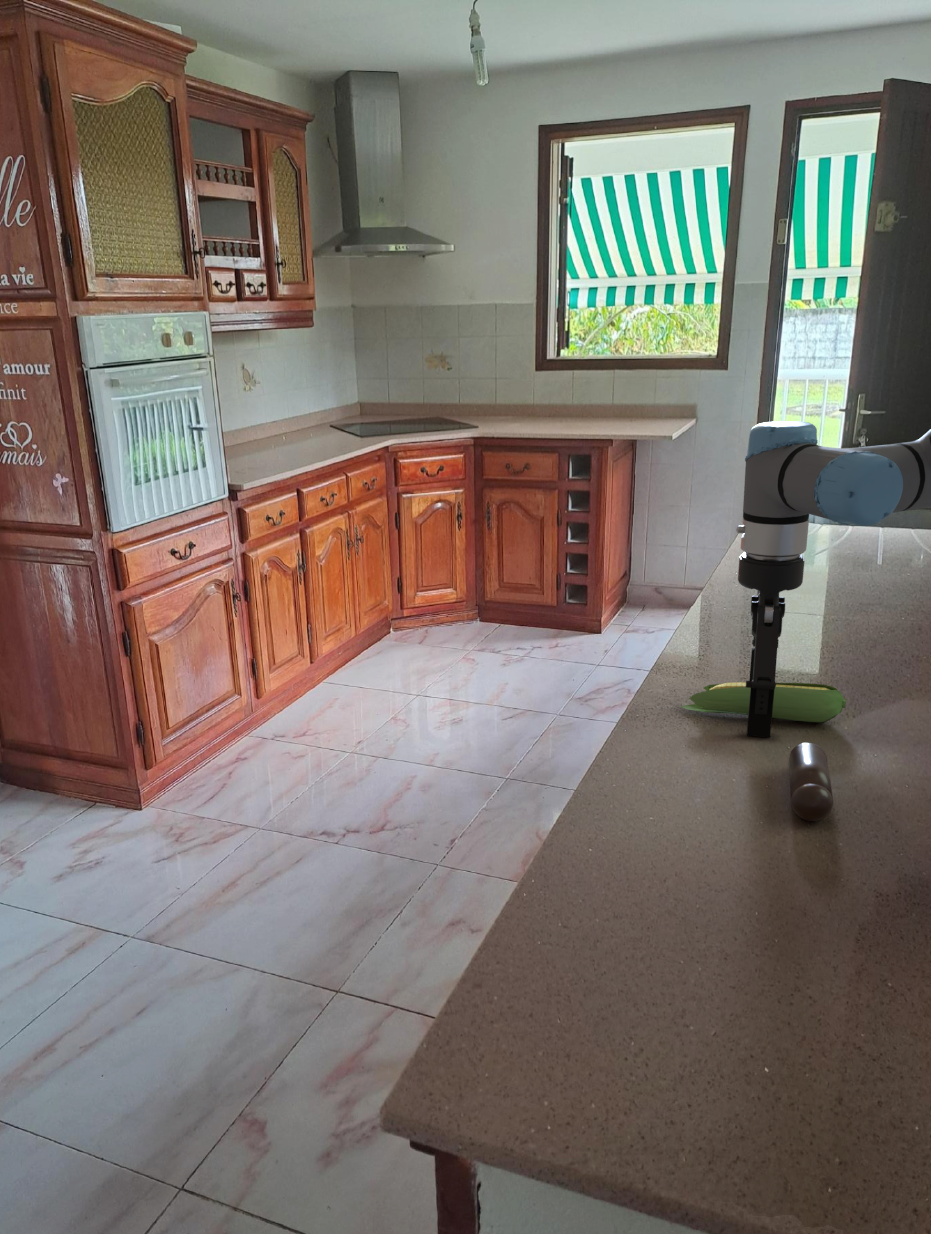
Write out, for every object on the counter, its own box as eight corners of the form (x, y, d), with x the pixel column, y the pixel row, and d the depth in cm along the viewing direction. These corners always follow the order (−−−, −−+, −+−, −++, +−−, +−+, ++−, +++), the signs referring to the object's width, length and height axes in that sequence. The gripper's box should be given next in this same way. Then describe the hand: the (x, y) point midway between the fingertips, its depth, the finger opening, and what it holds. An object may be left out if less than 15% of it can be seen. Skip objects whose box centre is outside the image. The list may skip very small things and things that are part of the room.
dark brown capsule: (786, 767, 111) (789, 735, 109) (824, 770, 110) (827, 738, 108) (790, 826, 98) (793, 790, 97) (832, 830, 97) (836, 794, 96)
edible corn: (844, 730, 120) (848, 696, 118) (677, 717, 126) (679, 684, 124) (842, 714, 124) (845, 681, 123) (681, 702, 130) (682, 671, 129)
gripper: (741, 530, 130) (730, 678, 137) (737, 578, 108) (725, 751, 115) (801, 531, 127) (787, 682, 135) (809, 581, 105) (792, 757, 113)
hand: (758, 714), depth 125 cm, fingers open, 13 cm apart
